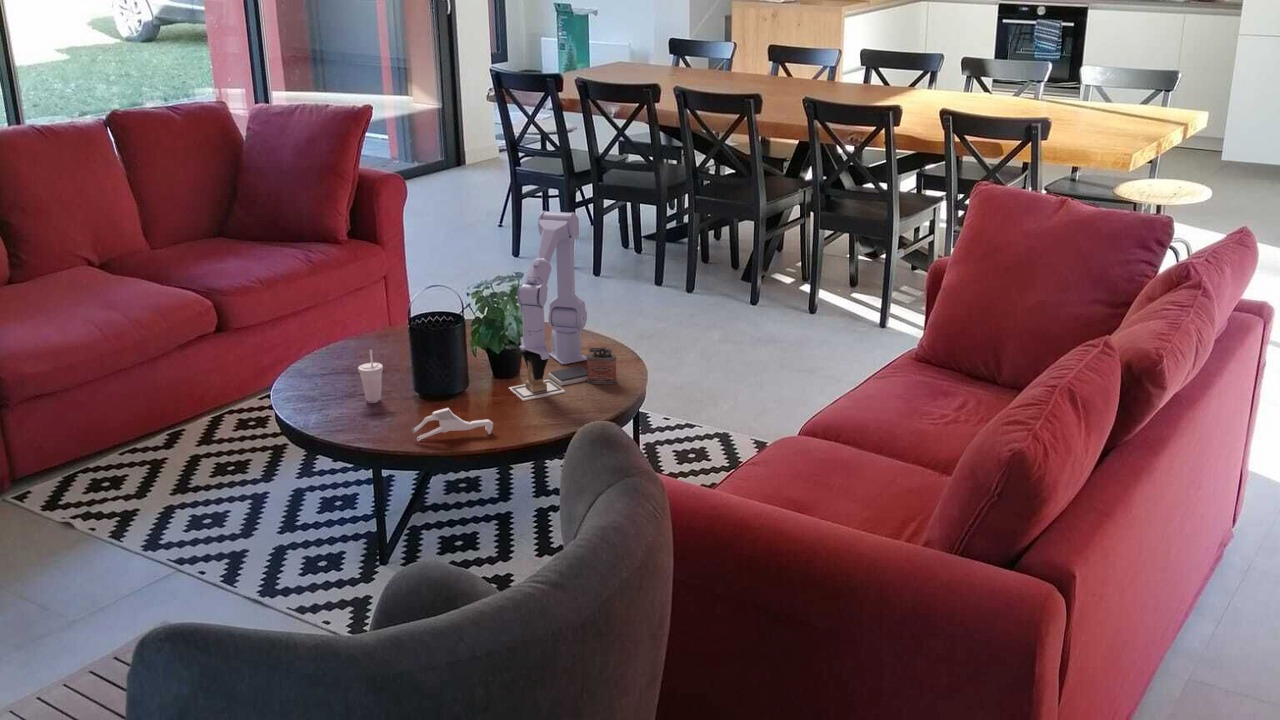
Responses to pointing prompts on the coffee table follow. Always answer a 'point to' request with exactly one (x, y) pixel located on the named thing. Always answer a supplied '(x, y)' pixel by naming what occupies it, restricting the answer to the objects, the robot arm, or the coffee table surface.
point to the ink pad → (569, 375)
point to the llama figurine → (451, 423)
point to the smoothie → (371, 379)
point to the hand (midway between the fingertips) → (536, 376)
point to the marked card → (527, 395)
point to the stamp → (534, 382)
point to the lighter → (601, 366)
